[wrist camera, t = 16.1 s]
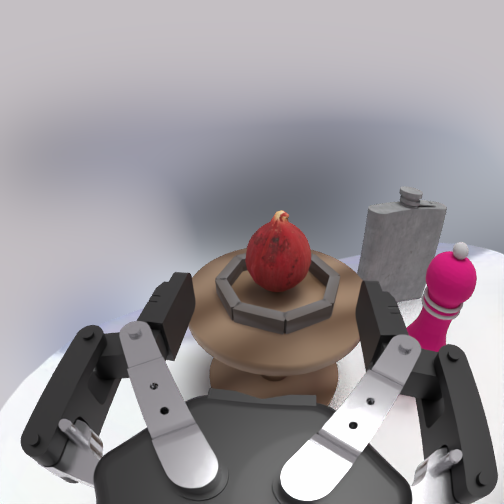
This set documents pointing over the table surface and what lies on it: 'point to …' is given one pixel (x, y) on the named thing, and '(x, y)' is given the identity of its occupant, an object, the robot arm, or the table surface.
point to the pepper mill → (443, 296)
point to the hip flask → (401, 243)
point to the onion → (278, 255)
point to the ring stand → (276, 327)
